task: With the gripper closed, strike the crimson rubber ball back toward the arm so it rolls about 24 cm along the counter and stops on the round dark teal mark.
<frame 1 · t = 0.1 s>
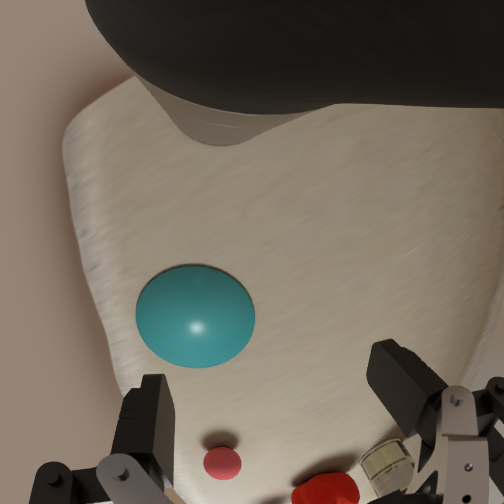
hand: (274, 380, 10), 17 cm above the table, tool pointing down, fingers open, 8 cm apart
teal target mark: (194, 322, 28), on the table
tomato: (317, 478, 45), on the table
ball: (222, 463, 33), on the table
coffee can: (380, 451, 46), on the table
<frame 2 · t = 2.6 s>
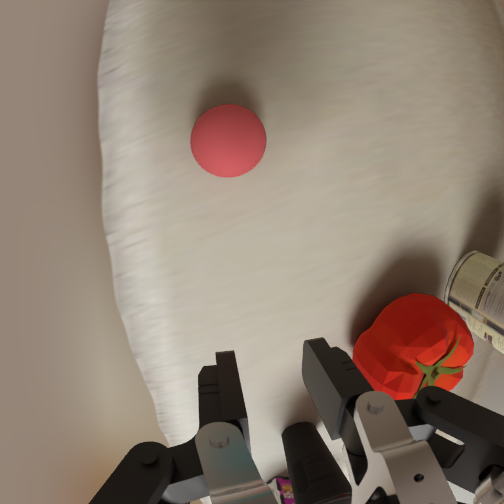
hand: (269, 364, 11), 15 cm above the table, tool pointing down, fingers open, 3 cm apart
tomato: (388, 331, 31), on the table
candy bar box: (291, 483, 39), on the table
ball: (228, 140, 20), on the table
drinking cup: (298, 431, 34), on the table
coffee can: (465, 284, 32), on the table
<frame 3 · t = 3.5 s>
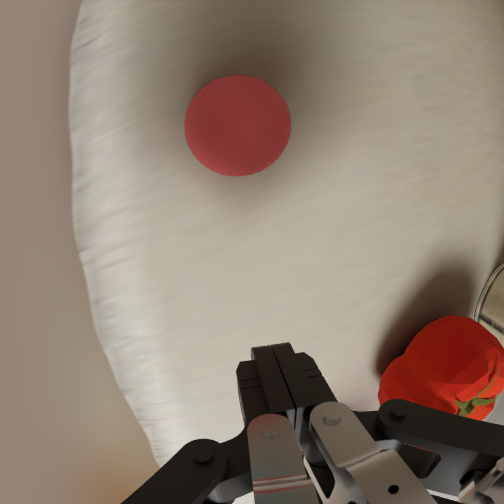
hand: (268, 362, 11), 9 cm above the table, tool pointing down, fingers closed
tomato: (416, 355, 25), on the table
ball: (237, 125, 14), on the table
coffee can: (495, 298, 26), on the table
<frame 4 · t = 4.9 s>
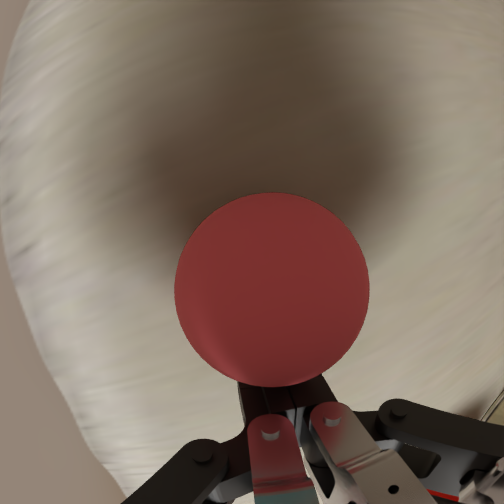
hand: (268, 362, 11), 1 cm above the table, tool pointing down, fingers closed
ball: (272, 290, 8), on the table
coffee can: (499, 404, 22), on the table
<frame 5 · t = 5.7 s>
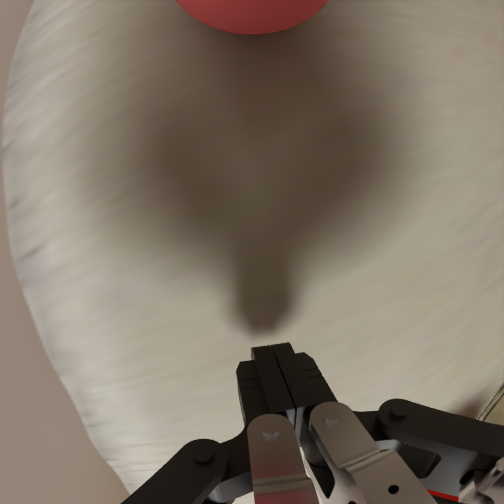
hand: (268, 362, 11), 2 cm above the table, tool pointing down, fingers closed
coffee can: (497, 403, 23), on the table
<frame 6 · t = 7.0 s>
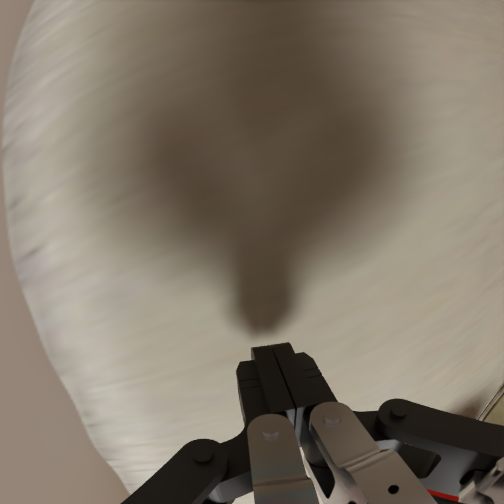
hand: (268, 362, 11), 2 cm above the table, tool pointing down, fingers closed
coffee can: (497, 403, 23), on the table
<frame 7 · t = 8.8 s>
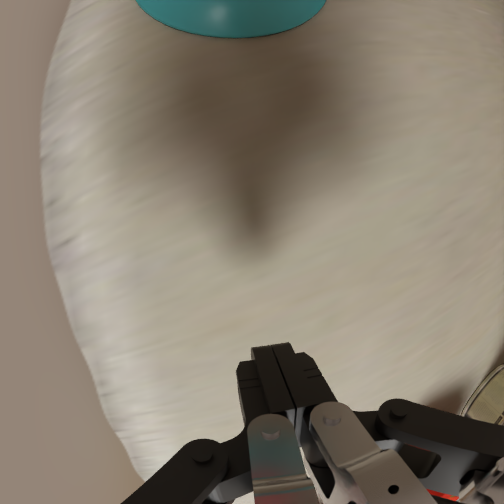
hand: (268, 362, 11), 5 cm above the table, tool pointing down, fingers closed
coffee can: (484, 393, 26), on the table
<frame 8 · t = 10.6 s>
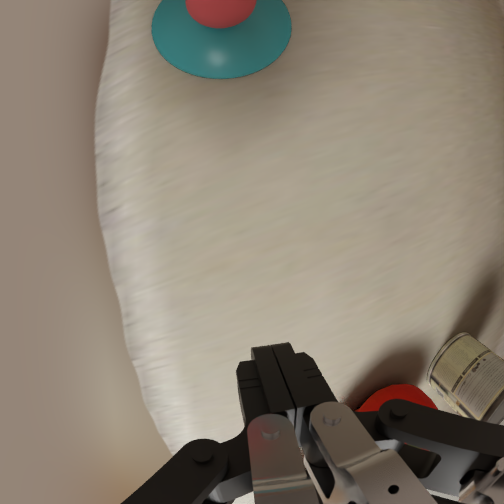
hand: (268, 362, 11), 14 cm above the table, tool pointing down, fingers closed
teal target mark: (222, 20, 18), on the table
tomato: (373, 405, 34), on the table
drinking cup: (294, 475, 36), on the table
coffee can: (449, 359, 35), on the table
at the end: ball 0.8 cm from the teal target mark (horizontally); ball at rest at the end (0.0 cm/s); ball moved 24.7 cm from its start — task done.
